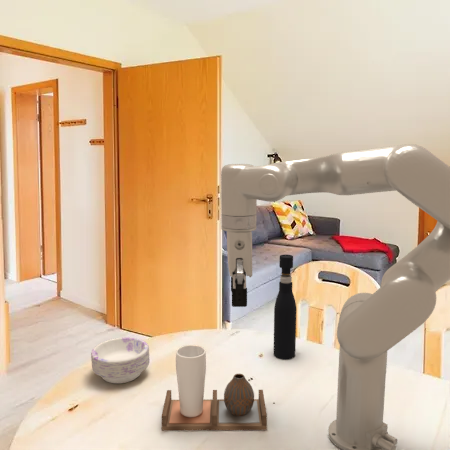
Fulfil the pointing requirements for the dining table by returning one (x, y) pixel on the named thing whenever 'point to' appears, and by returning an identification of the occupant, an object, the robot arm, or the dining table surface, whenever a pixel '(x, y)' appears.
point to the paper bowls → (120, 359)
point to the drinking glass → (191, 379)
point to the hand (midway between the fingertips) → (238, 298)
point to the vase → (238, 396)
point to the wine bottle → (285, 313)
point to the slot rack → (214, 416)
